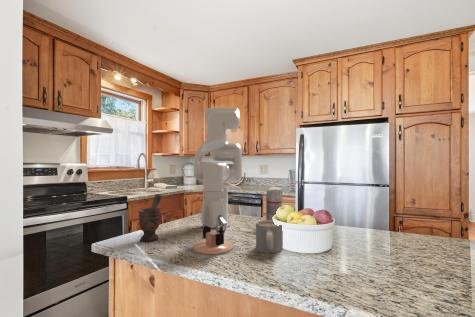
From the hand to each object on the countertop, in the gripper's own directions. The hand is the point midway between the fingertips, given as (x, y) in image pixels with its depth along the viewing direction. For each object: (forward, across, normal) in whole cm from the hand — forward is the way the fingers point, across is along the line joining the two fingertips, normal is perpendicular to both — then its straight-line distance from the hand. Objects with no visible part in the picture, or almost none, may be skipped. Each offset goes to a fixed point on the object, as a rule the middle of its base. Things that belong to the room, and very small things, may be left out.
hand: (213, 241), depth 98 cm
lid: (+2, 0, 0) cm, 3 cm away
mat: (+3, 0, 0) cm, 3 cm away
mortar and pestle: (+3, -22, -16) cm, 27 cm away
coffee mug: (+3, +13, +16) cm, 21 cm away
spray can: (+3, -12, +42) cm, 44 cm away
